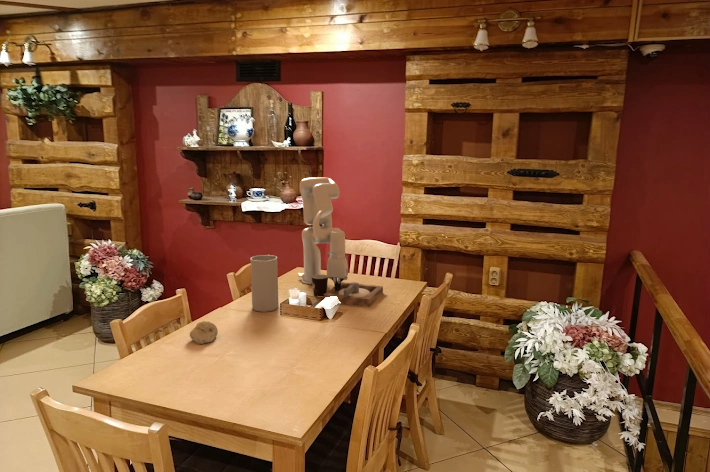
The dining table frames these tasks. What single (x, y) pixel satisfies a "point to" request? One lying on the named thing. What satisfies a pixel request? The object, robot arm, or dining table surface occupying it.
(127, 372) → the dining table surface
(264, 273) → the cylinder vase
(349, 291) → the dial
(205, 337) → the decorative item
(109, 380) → the dining table surface
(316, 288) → the coffee mug
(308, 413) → the dining table surface
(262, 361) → the dining table surface
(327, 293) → the dial housing
